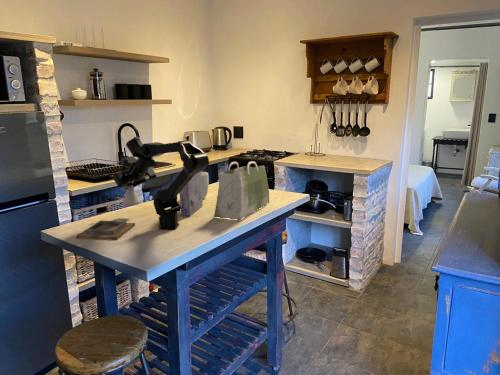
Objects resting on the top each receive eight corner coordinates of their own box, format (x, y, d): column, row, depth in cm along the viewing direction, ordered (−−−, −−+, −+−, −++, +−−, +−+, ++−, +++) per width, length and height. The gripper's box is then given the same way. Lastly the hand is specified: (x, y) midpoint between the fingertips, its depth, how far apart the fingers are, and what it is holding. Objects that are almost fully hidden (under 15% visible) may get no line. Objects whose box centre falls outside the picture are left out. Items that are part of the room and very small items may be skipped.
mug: (188, 194, 203) (186, 170, 200) (208, 193, 205) (207, 169, 202) (188, 201, 189) (186, 176, 186) (209, 200, 190) (208, 175, 187)
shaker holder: (135, 225, 153) (134, 219, 152) (117, 239, 138) (116, 233, 137) (98, 224, 155) (97, 218, 154) (76, 238, 139) (75, 231, 139)
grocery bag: (245, 200, 190) (245, 155, 185) (270, 203, 184) (270, 156, 179) (212, 217, 162) (210, 165, 157) (240, 222, 156) (239, 167, 151)
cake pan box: (194, 204, 183) (192, 169, 179) (204, 205, 182) (202, 169, 178) (179, 216, 165) (177, 177, 160) (190, 217, 164) (188, 177, 159)
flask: (134, 206, 159) (132, 184, 156) (119, 205, 160) (117, 183, 158) (143, 202, 166) (141, 180, 163) (128, 201, 167) (126, 179, 165)
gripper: (150, 148, 163) (136, 170, 171) (112, 153, 148) (99, 177, 157) (163, 167, 160) (148, 189, 169) (126, 174, 145) (112, 198, 154)
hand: (128, 188), depth 162 cm, fingers closed on flask, 3 cm apart
